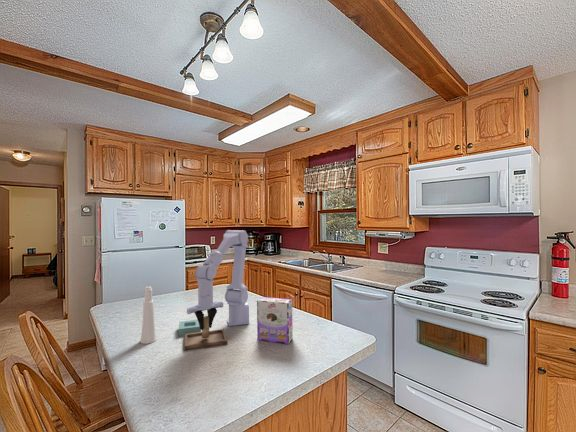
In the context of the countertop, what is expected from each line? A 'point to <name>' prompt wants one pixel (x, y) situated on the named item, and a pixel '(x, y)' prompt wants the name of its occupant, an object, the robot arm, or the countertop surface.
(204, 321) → the pin
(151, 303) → the cosmetic bottle
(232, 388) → the countertop surface
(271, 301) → the candy box
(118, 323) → the countertop surface
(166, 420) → the countertop surface
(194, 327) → the teal square ring
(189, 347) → the tray
